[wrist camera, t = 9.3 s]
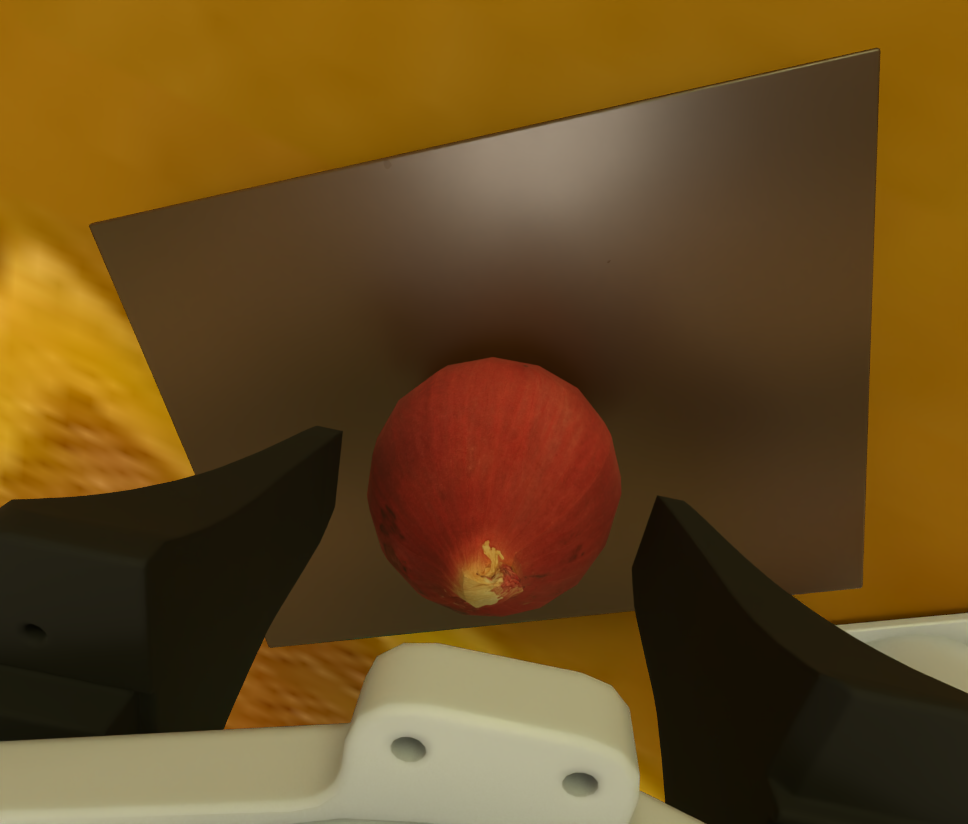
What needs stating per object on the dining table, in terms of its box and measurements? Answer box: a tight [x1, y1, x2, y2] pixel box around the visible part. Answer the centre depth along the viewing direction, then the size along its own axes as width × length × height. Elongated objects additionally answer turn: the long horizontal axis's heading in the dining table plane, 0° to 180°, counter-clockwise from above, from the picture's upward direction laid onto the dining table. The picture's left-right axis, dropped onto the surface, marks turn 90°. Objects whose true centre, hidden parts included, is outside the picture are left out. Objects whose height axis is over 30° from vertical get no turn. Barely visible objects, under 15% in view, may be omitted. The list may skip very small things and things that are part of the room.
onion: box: [367, 357, 621, 617], centre depth 15 cm, size 6×6×8 cm
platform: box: [89, 48, 880, 648], centre depth 20 cm, size 15×20×3 cm
